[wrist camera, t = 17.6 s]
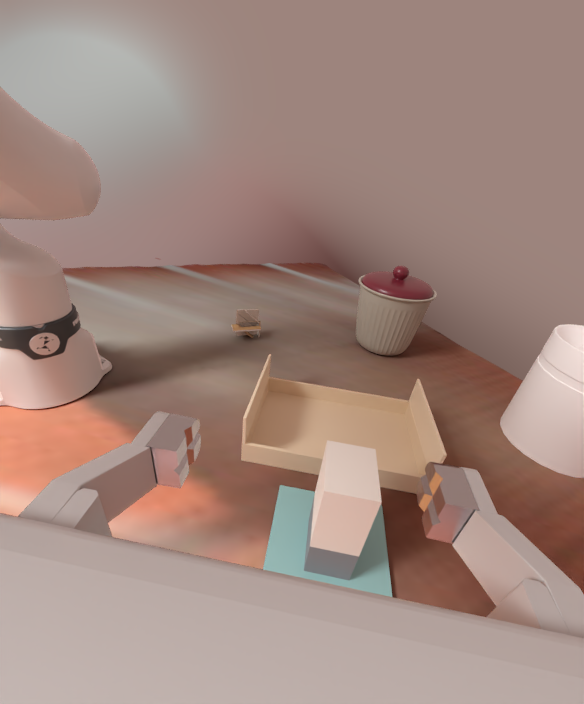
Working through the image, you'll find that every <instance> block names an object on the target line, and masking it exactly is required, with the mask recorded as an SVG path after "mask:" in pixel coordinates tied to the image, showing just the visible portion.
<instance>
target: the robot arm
mask: <svg viewBox="0 0 584 704" xmlns="http://www.w3.org/2000/svg"><path fill="white" fill-rule="evenodd" d="M100 193H101V184H100V178H99V174H98V171H97V169H96V166H95V164H94V163H93V161H92V159H91V157H90V156H89V155H88V153H87V152H86V151H85V150H84V148H83V147H82V146H81V145H80V144H79V143H77V142H76V141H75V140H74V139H72V138H70V137H68V136H66V135H63V134H62V133H60V132H58V131H56V130H54V129H52V128H51V127H49V126H47V125H46V124H44V123H43V122H41V121H40V120H38V119H37V118H36V117H34V116H33V115H32V114H30V113H29V112H28V111H27V110H25V109H24V108H22V107H21V106H20V105H19V104H18V103H17V102H16V101H15V100H14V99H12V98H11V97H10V96H9V95H8V94H7V93H6V92H5V91H4V90H3V89H2V88H1V87H0V218H6V219H32V220H34V219H35V220H60V219H67V218H74V217H81V216H87V215H90V214H91V212H92V211H93V210H94V209H95V207H96V206H97V204H98V201H99V198H100ZM111 369H112V364H111V362H109V361H108V360H107V359H105V358H104V357H102V356H101V355H99V353H98V349H97V346H96V343H95V340H94V337H93V334H92V333H89V332H88V331H87V330H85V329H82V328H81V327H80V321H79V315H78V312H77V311H76V308H75V306H74V305H73V304H72V303H71V300H70V296H69V293H68V289H67V285H66V282H65V278H64V274H63V270H62V267H61V265H60V264H59V263H58V261H57V260H56V259H55V258H54V257H53V256H52V255H51V254H49V253H48V252H47V251H45V250H43V249H41V248H39V247H37V246H34V245H32V244H29V243H26V242H24V241H21V240H19V239H17V238H16V237H14V236H13V235H11V234H10V233H9V232H8V231H7V230H6V229H5V228H4V227H3V226H2V225H1V224H0V406H1V405H8V406H13V407H17V408H22V409H42V408H49V407H54V406H58V405H62V404H65V403H68V402H71V401H73V400H76V399H78V398H80V397H82V396H83V395H85V394H87V393H88V392H90V391H91V390H92V389H93V388H95V387H96V385H97V384H98V383H99V381H100V380H101V378H102V376H103V375H105V374H106V373H107V372H109V371H110V370H111ZM199 428H200V421H199V420H198V419H195V418H190V417H186V416H181V415H176V414H170V413H165V412H161V411H158V412H156V413H154V415H153V416H152V417H151V418H150V420H149V421H148V422H147V423H146V425H145V426H144V427H143V429H142V430H141V431H140V432H139V434H138V435H137V436H136V438H135V439H134V440H133V441H132V443H131V444H129V443H126V444H124V445H122V446H120V447H118V448H116V449H114V450H112V451H110V452H108V453H106V454H104V455H102V456H100V457H98V458H96V459H94V460H92V461H90V462H88V463H86V464H84V465H82V466H80V467H78V468H75V469H73V470H71V471H69V472H67V473H65V474H63V475H61V476H59V477H57V478H55V479H53V480H52V481H51V482H50V483H49V484H48V485H47V486H46V487H45V488H44V489H43V490H42V491H41V493H40V494H39V495H38V496H37V497H36V498H35V499H34V500H33V501H32V502H31V503H30V504H29V505H28V506H27V507H26V508H25V509H24V511H23V512H22V513H21V514H20V515H19V516H18V517H17V516H12V515H7V514H3V513H0V704H584V594H583V592H582V591H581V589H580V588H579V587H578V586H577V585H576V584H575V583H574V582H573V581H572V580H571V579H570V578H569V577H567V576H566V575H565V574H564V573H563V572H562V571H561V570H560V569H559V568H558V567H557V566H556V565H555V564H554V563H553V562H552V561H550V560H549V559H548V558H547V557H546V556H545V555H544V554H543V553H542V552H541V551H540V550H539V549H538V548H537V547H536V546H535V545H534V544H532V543H531V542H530V541H529V540H528V539H527V538H526V537H525V536H524V535H523V534H522V533H521V532H520V531H519V530H518V529H517V528H515V527H514V526H513V525H512V524H511V523H510V522H509V521H508V520H507V519H506V518H505V517H504V516H502V515H498V513H497V511H496V509H495V507H494V505H493V502H492V500H491V498H490V496H489V494H488V491H487V489H486V487H485V485H484V483H483V480H482V478H481V476H480V474H479V472H478V471H477V470H475V469H469V468H464V467H458V466H452V465H447V464H441V463H435V462H429V463H428V464H427V465H426V467H425V472H426V475H424V476H422V477H421V478H420V480H419V482H418V486H417V500H418V505H419V507H420V508H421V509H422V510H423V511H424V514H423V516H422V518H421V519H422V523H423V527H424V532H425V536H426V538H430V539H434V540H439V541H443V542H447V543H452V545H453V547H454V548H455V550H456V551H457V552H458V554H459V555H460V557H461V558H462V559H463V561H464V562H465V564H466V565H467V566H468V568H469V569H470V570H471V572H472V573H473V575H474V576H475V577H476V579H477V580H478V582H479V583H480V584H481V586H482V587H483V589H484V590H485V591H486V593H487V594H488V595H489V597H490V598H491V600H492V601H493V602H494V604H495V605H496V608H495V609H494V610H493V611H492V612H491V613H490V614H489V615H488V616H487V617H482V616H478V615H473V614H468V613H464V612H459V611H454V610H450V609H445V608H440V607H436V606H431V605H426V604H422V603H417V602H412V601H408V600H403V599H398V598H394V597H389V596H384V595H380V594H375V593H371V592H366V591H361V590H357V589H352V588H347V587H343V586H338V585H333V584H329V583H324V582H319V581H315V580H310V579H305V578H301V577H296V576H291V575H287V574H282V573H277V572H273V571H268V570H263V569H259V568H254V567H249V566H244V565H240V564H235V563H230V562H226V561H221V560H217V559H212V558H207V557H203V556H198V555H193V554H189V553H184V552H179V551H175V550H170V549H165V548H161V547H156V546H151V545H147V544H142V543H137V542H133V541H128V540H123V539H119V538H114V537H112V534H111V531H110V528H109V525H108V522H110V521H111V520H112V519H114V518H115V517H116V516H118V515H119V514H120V513H122V512H123V511H124V510H125V509H127V508H128V507H129V506H131V505H132V504H133V503H135V502H136V501H137V500H139V499H140V498H141V497H143V496H144V495H145V494H147V493H148V492H149V491H150V490H152V489H153V488H154V487H156V486H157V484H158V485H164V486H170V487H176V488H181V487H182V485H183V483H184V481H185V479H186V477H187V475H188V473H189V465H190V464H192V463H193V462H195V460H196V458H197V455H198V452H199V449H200V444H201V436H200V435H199V433H198V430H199Z"/></svg>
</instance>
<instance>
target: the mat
mask: <svg viewBox="0 0 584 704" xmlns="http://www.w3.org/2000/svg"><path fill="white" fill-rule="evenodd" d="M314 495H315V492H313V491H308V490H303V489H298V488H293V487H288V486H283V485H280V488H279V493H278V498H277V503H276V508H275V513H274V518H273V523H272V528H271V533H270V538H269V543H268V548H267V553H266V557H265V562H264V567H263V570H268V571H273V572H277V573H282V574H287V575H291V576H296V577H301V578H305V579H310V580H315V581H319V582H324V583H329V584H333V585H338V586H343V587H347V588H352V589H357V590H361V591H366V592H371V593H375V594H380V595H384V596H389V597H392V589H391V580H390V571H389V562H388V553H387V545H386V536H385V527H384V518H383V509H382V505H380V507H379V510H378V512H377V515H376V517H375V519H374V522H373V524H372V527H371V529H370V531H369V534H368V536H367V539H366V541H365V543H364V546H363V548H362V551H361V553H360V555H359V558H358V560H357V563H356V565H355V567H354V570H353V572H352V575H351V577H350V579H349V580H344V579H340V578H335V577H330V576H326V575H321V574H316V573H312V572H307V571H304V563H305V553H306V543H307V533H308V523H309V516H310V512H311V508H312V503H313V499H314Z"/></svg>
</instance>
